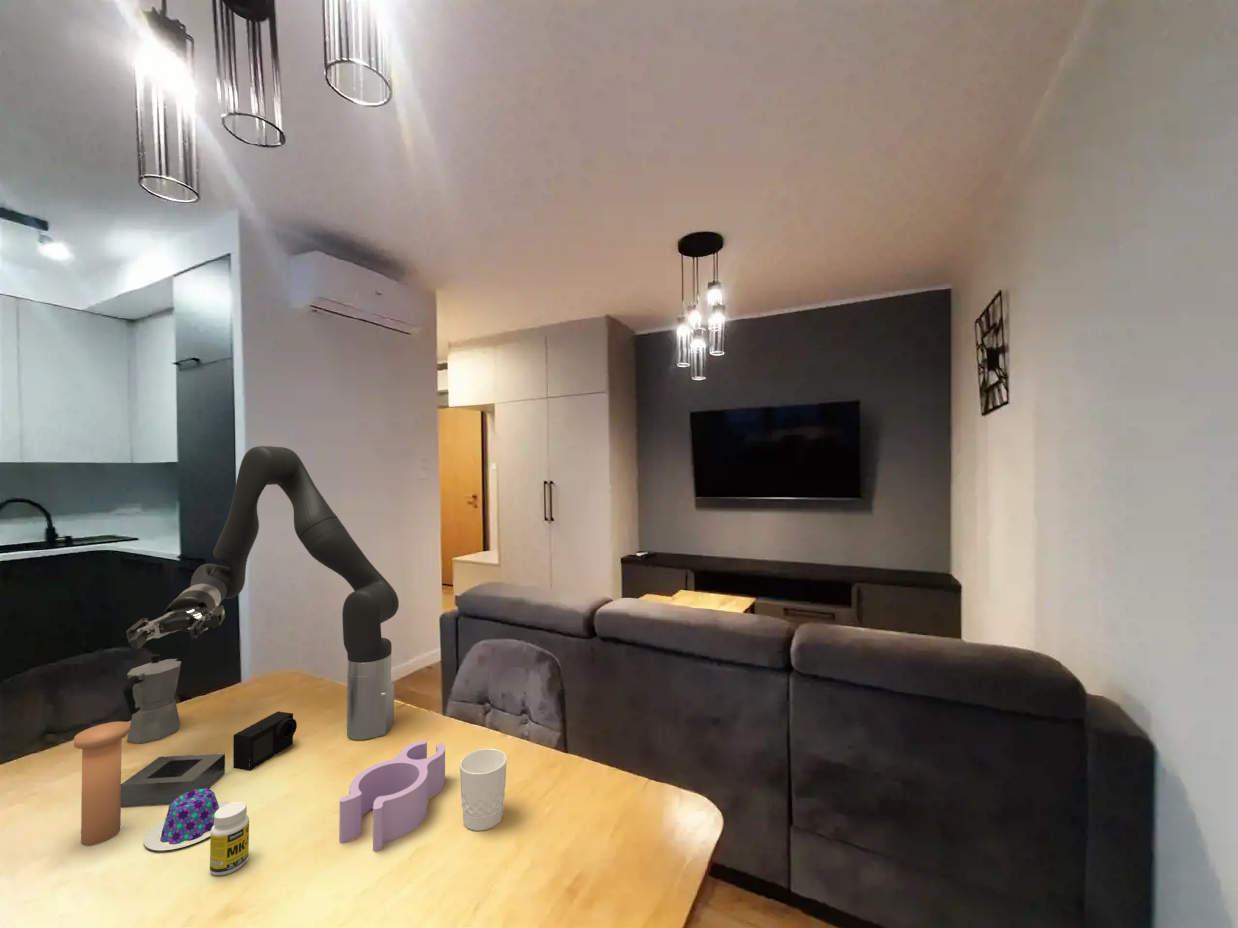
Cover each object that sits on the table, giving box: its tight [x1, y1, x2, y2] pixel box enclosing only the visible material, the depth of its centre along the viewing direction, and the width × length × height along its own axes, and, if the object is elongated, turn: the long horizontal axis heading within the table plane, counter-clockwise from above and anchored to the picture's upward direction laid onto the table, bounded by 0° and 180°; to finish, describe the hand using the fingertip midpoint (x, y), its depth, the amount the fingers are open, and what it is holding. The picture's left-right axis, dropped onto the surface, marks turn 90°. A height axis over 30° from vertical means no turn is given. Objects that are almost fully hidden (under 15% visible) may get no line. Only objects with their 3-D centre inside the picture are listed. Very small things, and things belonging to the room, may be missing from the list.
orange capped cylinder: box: [73, 721, 130, 847], centre depth 85 cm, size 6×6×17 cm
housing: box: [121, 753, 226, 808], centre depth 97 cm, size 12×9×4 cm
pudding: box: [143, 788, 230, 851], centre depth 87 cm, size 12×12×5 cm
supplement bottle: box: [209, 801, 250, 876], centre depth 79 cm, size 5×5×8 cm
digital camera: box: [232, 710, 298, 772], centre depth 109 cm, size 10×5×7 cm, turn 167°
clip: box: [338, 739, 446, 852], centre depth 92 cm, size 20×12×7 cm, turn 164°
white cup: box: [459, 747, 508, 832], centre depth 90 cm, size 8×8×10 cm
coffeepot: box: [122, 653, 182, 745], centre depth 117 cm, size 15×9×18 cm, turn 9°
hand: (164, 639), depth 96 cm, fingers open, 8 cm apart
